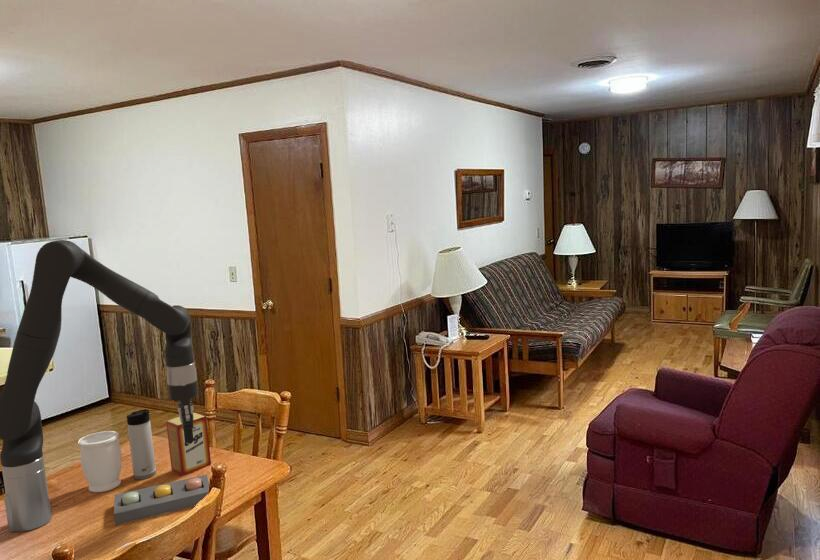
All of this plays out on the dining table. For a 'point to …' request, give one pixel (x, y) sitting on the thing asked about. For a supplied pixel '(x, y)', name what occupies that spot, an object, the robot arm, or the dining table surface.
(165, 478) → the dining table surface
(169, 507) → the button console
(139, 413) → the travel mug
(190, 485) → the terracotta button
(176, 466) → the baking soda box
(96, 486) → the jar
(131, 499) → the sage button
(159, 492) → the amber button
